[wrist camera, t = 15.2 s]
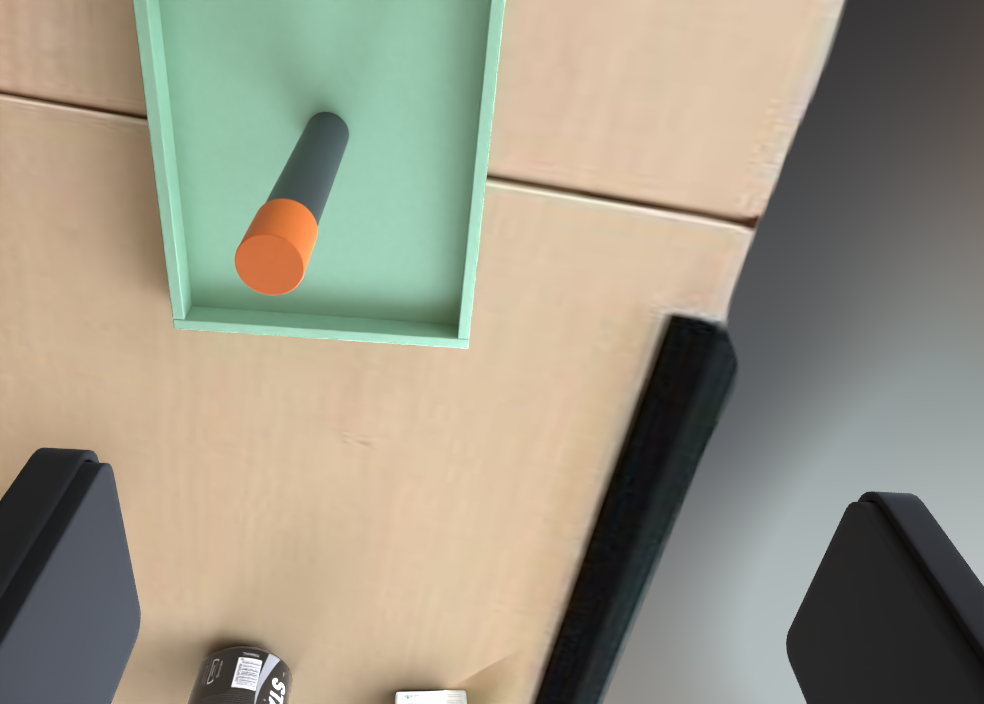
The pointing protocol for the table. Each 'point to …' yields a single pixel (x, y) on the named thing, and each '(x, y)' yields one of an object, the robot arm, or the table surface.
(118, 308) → the table surface
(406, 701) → the small box
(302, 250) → the marker
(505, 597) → the table surface
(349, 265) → the tray
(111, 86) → the table surface
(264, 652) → the beverage can
